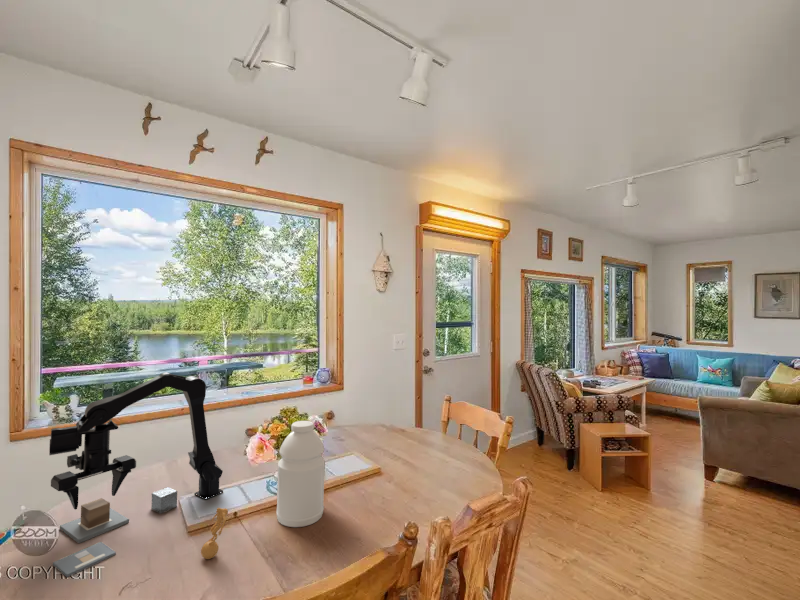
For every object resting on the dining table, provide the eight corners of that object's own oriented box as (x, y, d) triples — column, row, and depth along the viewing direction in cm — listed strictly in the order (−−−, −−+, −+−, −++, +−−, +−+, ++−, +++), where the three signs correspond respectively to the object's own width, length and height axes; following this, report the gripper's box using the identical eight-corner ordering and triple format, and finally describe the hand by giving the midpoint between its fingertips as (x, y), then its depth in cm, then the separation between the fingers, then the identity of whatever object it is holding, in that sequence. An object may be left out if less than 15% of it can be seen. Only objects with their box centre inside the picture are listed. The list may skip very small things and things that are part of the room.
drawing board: (115, 554, 100) (115, 551, 100) (67, 577, 92) (67, 574, 92) (100, 543, 105) (100, 541, 105) (52, 564, 96) (53, 561, 96)
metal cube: (176, 506, 124) (177, 490, 124) (160, 514, 120) (160, 497, 120) (167, 502, 127) (168, 486, 127) (151, 509, 123) (151, 493, 123)
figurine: (198, 551, 102) (199, 505, 103) (223, 544, 106) (224, 498, 106) (203, 569, 96) (205, 519, 96) (230, 560, 99) (231, 512, 99)
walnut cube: (109, 520, 114) (109, 502, 114) (88, 528, 109) (89, 510, 110) (101, 515, 116) (101, 498, 116) (80, 523, 112) (81, 505, 112)
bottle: (274, 508, 125) (276, 419, 125) (318, 500, 130) (320, 415, 131) (279, 532, 112) (282, 432, 112) (327, 523, 117) (330, 427, 118)
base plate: (128, 522, 115) (128, 518, 115) (78, 543, 105) (78, 539, 105) (108, 510, 121) (109, 506, 121) (59, 529, 111) (59, 525, 111)
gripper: (119, 432, 125) (117, 482, 125) (43, 450, 109) (41, 507, 109) (138, 439, 119) (136, 492, 119) (60, 459, 103) (58, 520, 103)
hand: (95, 502), depth 113 cm, fingers open, 9 cm apart
